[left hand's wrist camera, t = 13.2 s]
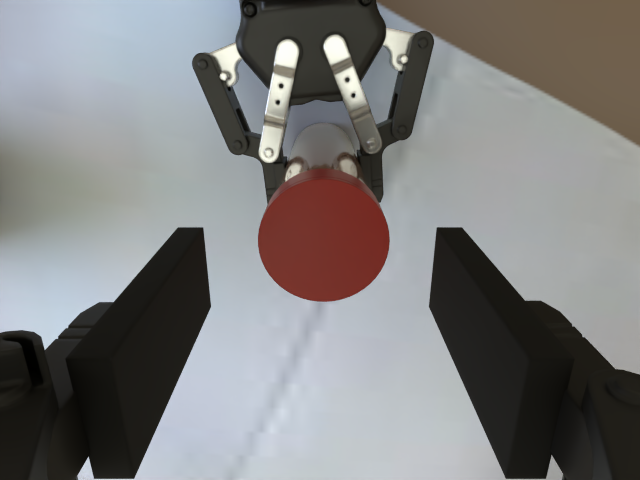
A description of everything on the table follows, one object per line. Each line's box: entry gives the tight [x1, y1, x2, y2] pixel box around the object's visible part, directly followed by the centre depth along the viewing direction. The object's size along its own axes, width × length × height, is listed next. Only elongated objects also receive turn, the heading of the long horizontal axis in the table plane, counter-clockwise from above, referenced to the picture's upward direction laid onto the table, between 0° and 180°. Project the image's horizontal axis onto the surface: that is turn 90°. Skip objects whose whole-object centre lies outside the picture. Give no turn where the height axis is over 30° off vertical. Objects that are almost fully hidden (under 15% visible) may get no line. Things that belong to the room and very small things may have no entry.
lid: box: [258, 169, 390, 302], centre depth 18 cm, size 5×5×2 cm
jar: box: [278, 123, 369, 188], centre depth 26 cm, size 5×5×19 cm
